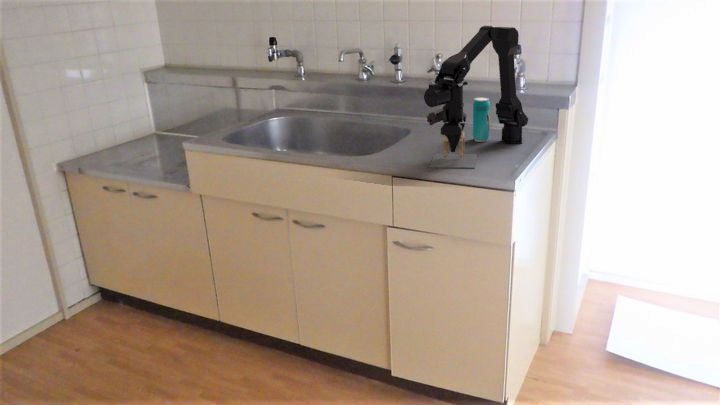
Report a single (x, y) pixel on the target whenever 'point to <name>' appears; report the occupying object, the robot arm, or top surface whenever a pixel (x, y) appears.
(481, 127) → the beverage can
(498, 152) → the top surface
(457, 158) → the mat
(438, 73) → the robot arm
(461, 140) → the stool
